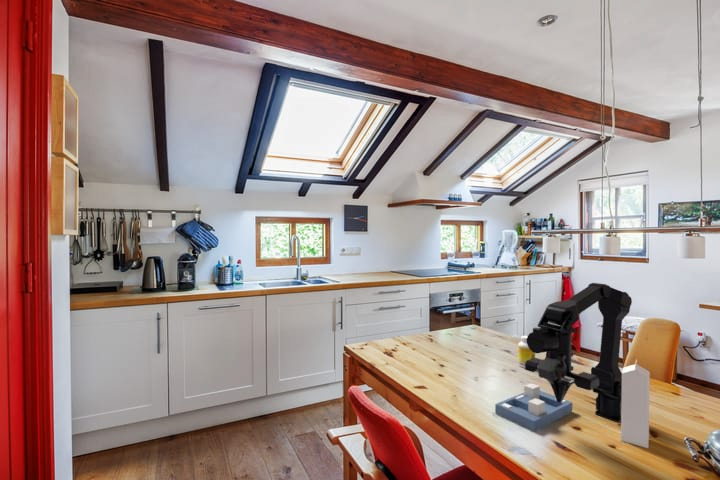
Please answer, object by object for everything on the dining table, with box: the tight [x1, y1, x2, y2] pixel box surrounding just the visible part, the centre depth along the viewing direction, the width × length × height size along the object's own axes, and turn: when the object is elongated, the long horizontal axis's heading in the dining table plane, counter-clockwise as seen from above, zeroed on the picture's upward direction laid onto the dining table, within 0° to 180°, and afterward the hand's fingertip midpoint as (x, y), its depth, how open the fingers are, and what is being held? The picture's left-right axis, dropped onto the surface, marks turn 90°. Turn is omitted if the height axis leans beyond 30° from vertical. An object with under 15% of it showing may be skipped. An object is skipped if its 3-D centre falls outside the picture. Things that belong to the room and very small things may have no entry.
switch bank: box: [494, 390, 573, 432], centre depth 117 cm, size 13×22×3 cm, turn 124°
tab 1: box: [524, 383, 541, 400], centre depth 123 cm, size 3×4×5 cm
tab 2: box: [528, 398, 545, 417], centre depth 111 cm, size 3×4×5 cm
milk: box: [620, 358, 651, 449], centre depth 101 cm, size 6×6×22 cm
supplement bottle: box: [517, 335, 536, 369], centre depth 159 cm, size 7×7×13 cm
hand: (559, 402), depth 106 cm, fingers closed
